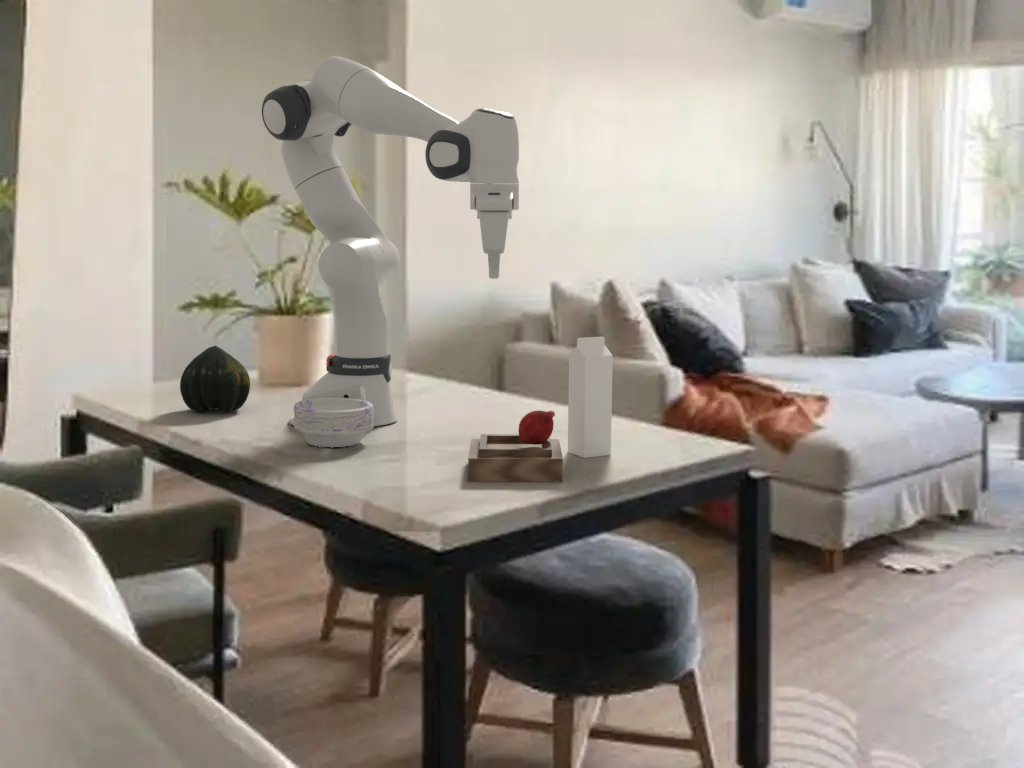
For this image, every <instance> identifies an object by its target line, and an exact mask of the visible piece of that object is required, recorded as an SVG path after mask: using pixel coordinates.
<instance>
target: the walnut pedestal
mask: <svg viewBox="0 0 1024 768" xmlns="http://www.w3.org/2000/svg"><path fill="white" fill-rule="evenodd" d="M468 451H469V452H468V457H467V461H468V463H467V464H468V465H467V466H468V467H467V468H468V469H467V470H468V471H467V472H468V473H467V475H468V476H467V477H468V479H467V480H468V482H482V483H483V482H488V483H489V482H492V483H493V482H494V483H495V482H500V483H501V482H505V483H506V482H507V483H509V482H510V483H511V482H513V483H515V482H516V483H517V482H519V483H520V482H521V483H523V482H524V483H526V482H527V483H529V482H530V483H531V482H532V483H533V482H534V483H539V482H541V483H549V482H550V483H563V480H564V479H563V478H564V477H563V475H564V472H563V471H564V469H563V468H564V457H563V453H562V447H561V444H560V439H559V438H551V436H550V437H549V438H548V439H547V441H545V442H544V443H542V444H538V445H533V444H522V443H521V442H520V441H519V433H518V434H515V433H514V434H513V433H512V434H503V433H501V434H496V433H495V434H493V433H492V434H491V433H490V434H486V433H485V434H484V433H483V434H482V433H481V434H480V438H471V439H470V444H469V450H468Z"/></svg>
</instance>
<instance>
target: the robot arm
mask: <svg viewBox="0 0 1024 768" xmlns="http://www.w3.org/2000/svg"><path fill="white" fill-rule="evenodd" d="M261 117H262V122H263V123H264V127H265V128H266V130H267V131H268V132H269V135H271V136H272V137H273V138H275V139H276V140H279V141H282V143H281V146H280V152H281V156H282V160H283V163H284V166H285V169H286V171H287V175H288V177H289V180H290V182H291V184H292V186H293V188H294V190H295V192H296V195H297V197H298V200H299V201H300V203H301V205H302V207H303V209H304V211H305V213H306V215H307V218H308V219H309V220H310V223H311V225H312V226H313V227H314V228H315V229H316V230H318V231H319V232H321V234H322V235H323V236H324V237H325V239H327V242H329V243H330V244H329V245H328V246H326V247H325V248H324V249H323V250H322V252H321V254H320V255H319V260H318V272H319V275H320V277H321V279H322V281H323V282H324V283H325V284H326V286H327V291H328V295H329V298H330V302H331V306H332V310H333V315H334V324H335V325H334V329H335V354H333V353H331V354H328V356H327V357H326V364H325V365H326V372H327V373H325V374H324V375H323V376H322V377H320V378H319V379H318V380H316V381H315V382H314V383H313V384H311V385H310V386H309V387H308V388H307V389H305V391H304V393H303V394H302V397H301V400H300V401H303V400H308V399H315V398H351V399H359V400H364V401H368V402H370V403H372V405H373V427H379V426H384V425H389V424H393V423H395V422H396V421H398V418H397V415H396V411H395V407H394V403H393V402H394V401H393V396H392V389H391V381H392V374H393V373H392V369H393V368H392V360H391V358H392V357H391V354H390V352H389V351H390V350H389V349H390V348H389V345H390V344H389V318H388V315H387V313H386V311H385V310H384V306H383V304H382V303H383V302H382V298H381V294H380V289H379V287H380V286H383V285H385V284H386V283H388V282H390V280H392V279H393V278H394V277H395V276H396V274H397V273H398V272H399V270H400V268H401V267H400V266H401V256H400V251H399V249H398V247H397V246H396V245H395V244H394V243H393V242H392V241H391V240H389V238H387V236H386V235H385V234H384V232H383V231H382V229H381V228H380V226H378V224H377V222H376V220H375V219H373V217H372V215H371V214H370V213H369V211H367V209H366V207H365V206H364V205H363V203H362V201H361V199H360V198H359V196H358V194H357V192H356V190H355V189H354V186H353V184H352V182H351V180H350V179H349V177H348V174H347V173H346V171H345V168H344V166H343V165H342V162H341V161H340V159H339V157H338V156H337V154H336V151H335V149H334V145H333V144H334V137H335V136H336V137H338V138H339V137H344V136H345V135H346V134H347V132H348V130H349V128H350V127H351V126H353V127H355V128H358V129H361V130H362V131H367V132H369V133H372V134H378V135H385V136H386V135H387V136H396V137H397V136H398V137H407V138H413V139H418V140H422V141H425V142H426V146H425V153H424V154H425V155H424V156H425V163H426V166H427V168H428V170H429V172H430V173H431V175H432V176H433V177H435V178H436V179H438V180H442V181H444V182H454V183H455V182H458V183H469V190H470V191H469V193H470V194H469V209H470V210H474V211H476V214H477V215H476V219H479V226H480V235H481V245H482V249H483V254H485V255H486V254H487V262H488V278H489V279H494V280H495V279H499V278H500V263H501V261H500V260H501V255H502V254H504V252H505V248H506V241H507V233H508V223H509V220H512V219H513V218H512V217H513V211H517V210H519V208H520V207H519V202H520V201H519V200H520V199H519V196H520V195H519V193H520V186H519V185H520V183H519V182H520V181H519V178H518V173H517V172H518V170H517V169H518V164H519V160H520V141H519V139H520V137H519V129H518V125H517V120H516V118H515V116H513V114H512V113H510V112H508V111H503V110H499V109H493V108H485V107H484V108H476V109H475V110H473V111H472V112H471V113H470V115H469V116H468V117H467V118H465V119H464V120H462V121H459V120H456V118H453V117H451V116H449V115H447V114H446V113H444V112H442V111H441V110H440V111H439V110H438V109H436V108H434V107H432V106H430V105H428V104H426V103H425V102H423V101H422V100H420V99H418V98H417V97H415V96H414V95H413V94H411V93H409V92H408V91H406V90H404V89H403V88H402V87H400V86H398V85H397V84H395V83H394V82H392V81H391V80H389V79H388V78H386V77H384V76H383V75H381V74H380V73H378V72H377V71H375V70H373V69H371V68H370V67H368V66H366V65H363V64H362V63H359V62H357V61H355V60H353V59H349V58H347V57H343V56H338V55H333V56H329V57H326V58H324V59H323V60H322V61H320V63H318V64H317V66H316V68H315V69H314V71H313V74H312V78H309V79H305V80H303V81H299V82H295V83H292V84H290V85H283V86H280V87H278V88H275V89H273V90H272V91H271V92H269V93H267V94H266V95H265V97H264V98H263V101H262V105H261ZM289 422H290V423H291V424H293V425H294V413H293V414H291V415H290V417H289ZM290 423H289V424H290ZM291 424H290V425H291Z"/></svg>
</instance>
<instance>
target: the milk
mask: <svg viewBox="0 0 1024 768" xmlns="http://www.w3.org/2000/svg"><path fill="white" fill-rule="evenodd" d="M613 357H614V355H613V354H612V353H611V351H610V350H609V347H607V346H606V338H605V336H590V337H579V338H577V339H576V347H575V348H574V349H572V350H571V351H570V352H569V353H568V408H567V411H568V412H567V416H568V417H567V452H568V453H569V454H572V455H575V456H577V457H580V458H582V459H587V458H595V457H597V458H598V457H604V456H605V457H606V456H611V453H612V416H613V415H612V413H613V411H612V408H613V405H612V404H613V402H612V401H613V368H614V365H613V364H614V363H613V360H614V358H613Z"/></svg>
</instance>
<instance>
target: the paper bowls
mask: <svg viewBox="0 0 1024 768" xmlns="http://www.w3.org/2000/svg"><path fill="white" fill-rule="evenodd" d="M293 414H294V426H293V428H294V430H295V431H297V432H299V433H302V434H303V436H304V438H305V440H306V442H307V443H308V444H309V445H311V446H313V445H314V447H317V446H320V447H319V448H323V447H342V448H347V447H346V446H349V447H352V446H351V445H353V446H355V444H356V445H358V444H359V443H360V442H361V441H362V439H363V437H364V435H365V433H367V432H369V431H372V430H373V428H374V426H373V405H372V403H370V402H368V401H364V400H359V399H351V398H315V399H308V400H303V401H301V400H300V401H297V402H295V404H294V406H293Z"/></svg>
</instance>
